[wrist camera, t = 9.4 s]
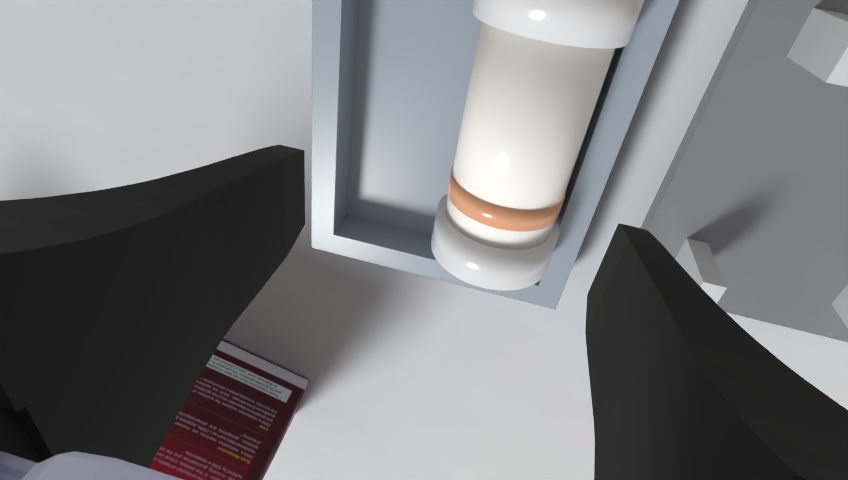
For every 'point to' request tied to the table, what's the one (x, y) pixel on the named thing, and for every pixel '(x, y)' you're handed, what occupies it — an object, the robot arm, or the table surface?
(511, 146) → the fuse
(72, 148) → the table surface
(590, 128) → the tray
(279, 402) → the supplement box
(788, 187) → the fuse holder
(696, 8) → the table surface
